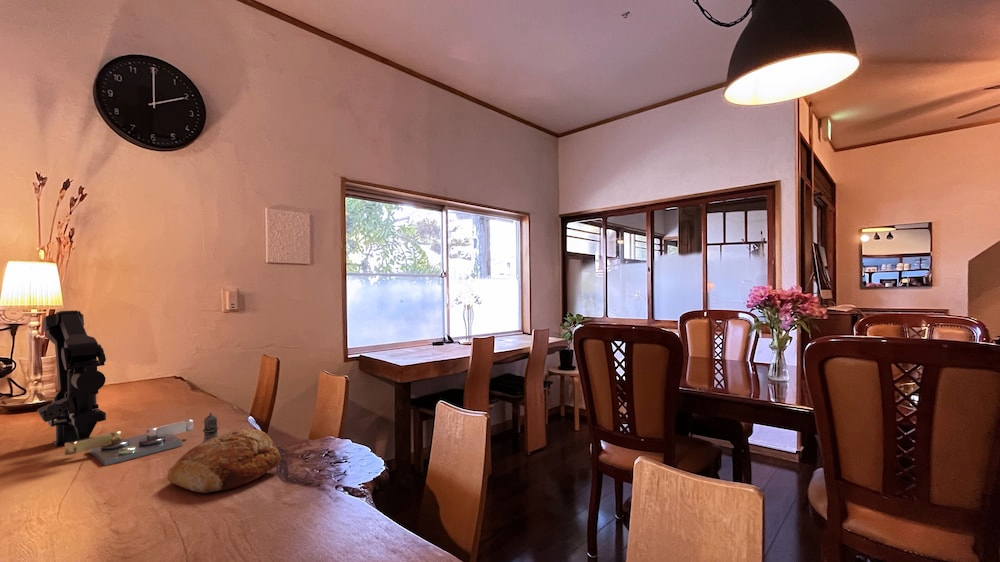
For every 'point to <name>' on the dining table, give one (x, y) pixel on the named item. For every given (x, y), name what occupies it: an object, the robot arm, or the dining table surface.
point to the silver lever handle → (165, 432)
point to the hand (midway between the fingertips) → (82, 443)
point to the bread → (225, 461)
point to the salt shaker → (210, 427)
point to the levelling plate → (134, 449)
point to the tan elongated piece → (96, 443)
